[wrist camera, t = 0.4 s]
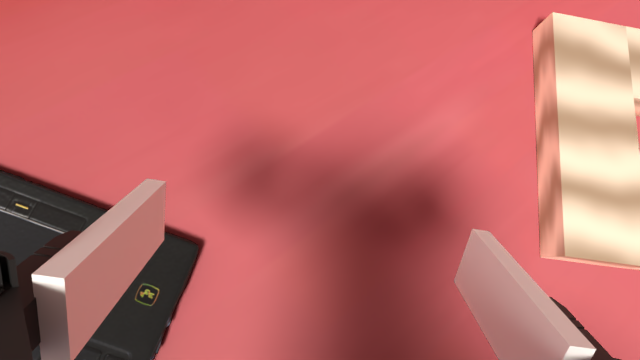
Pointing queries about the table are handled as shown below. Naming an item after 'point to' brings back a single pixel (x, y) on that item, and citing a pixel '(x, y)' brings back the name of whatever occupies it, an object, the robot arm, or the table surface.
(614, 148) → the hole block
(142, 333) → the laptop
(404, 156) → the table surface
